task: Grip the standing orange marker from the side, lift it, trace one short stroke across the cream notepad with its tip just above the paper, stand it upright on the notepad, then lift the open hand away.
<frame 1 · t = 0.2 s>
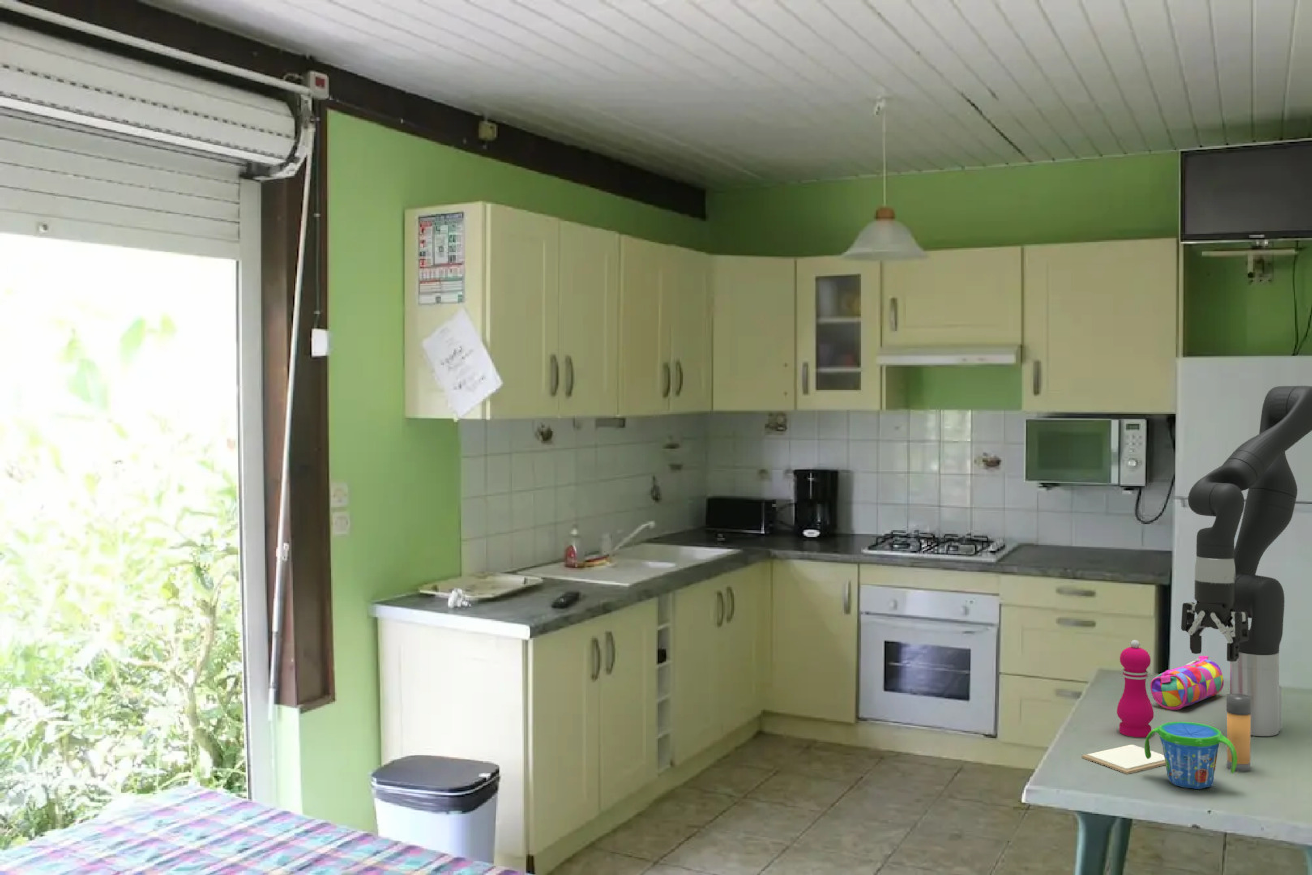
hand: (1213, 657, 232), 18 cm above the table, tool pointing down, fingers open, 8 cm apart
pencil case: (1187, 702, 262), on the table
pepper mill: (1135, 734, 238), on the table
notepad: (1129, 759, 222), on the table
snack cup: (1189, 784, 208), on the table
marker: (1238, 768, 216), on the table
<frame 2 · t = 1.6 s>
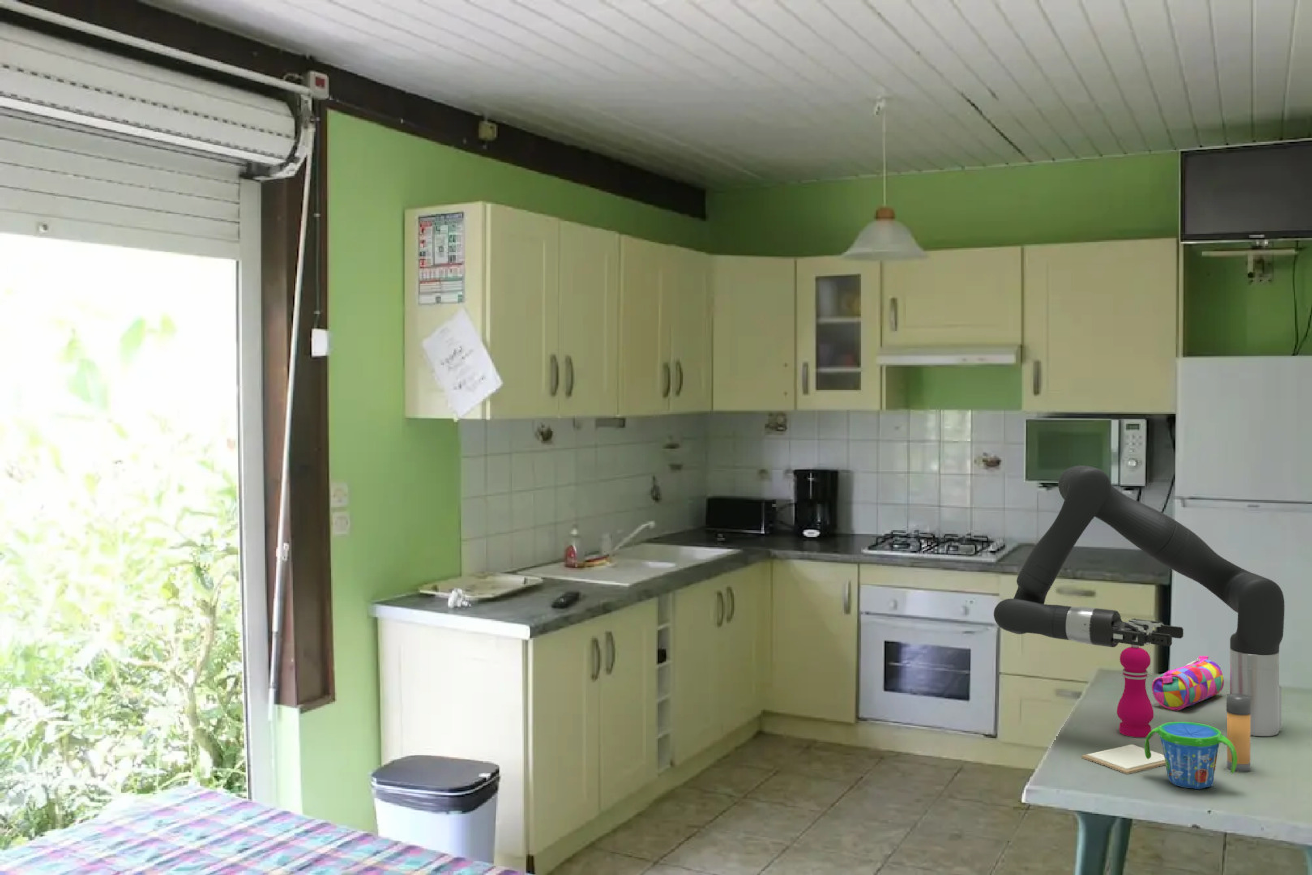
hand: (1177, 636, 221), 24 cm above the table, tool horizontal, fingers open, 8 cm apart
nothing on the table moved.
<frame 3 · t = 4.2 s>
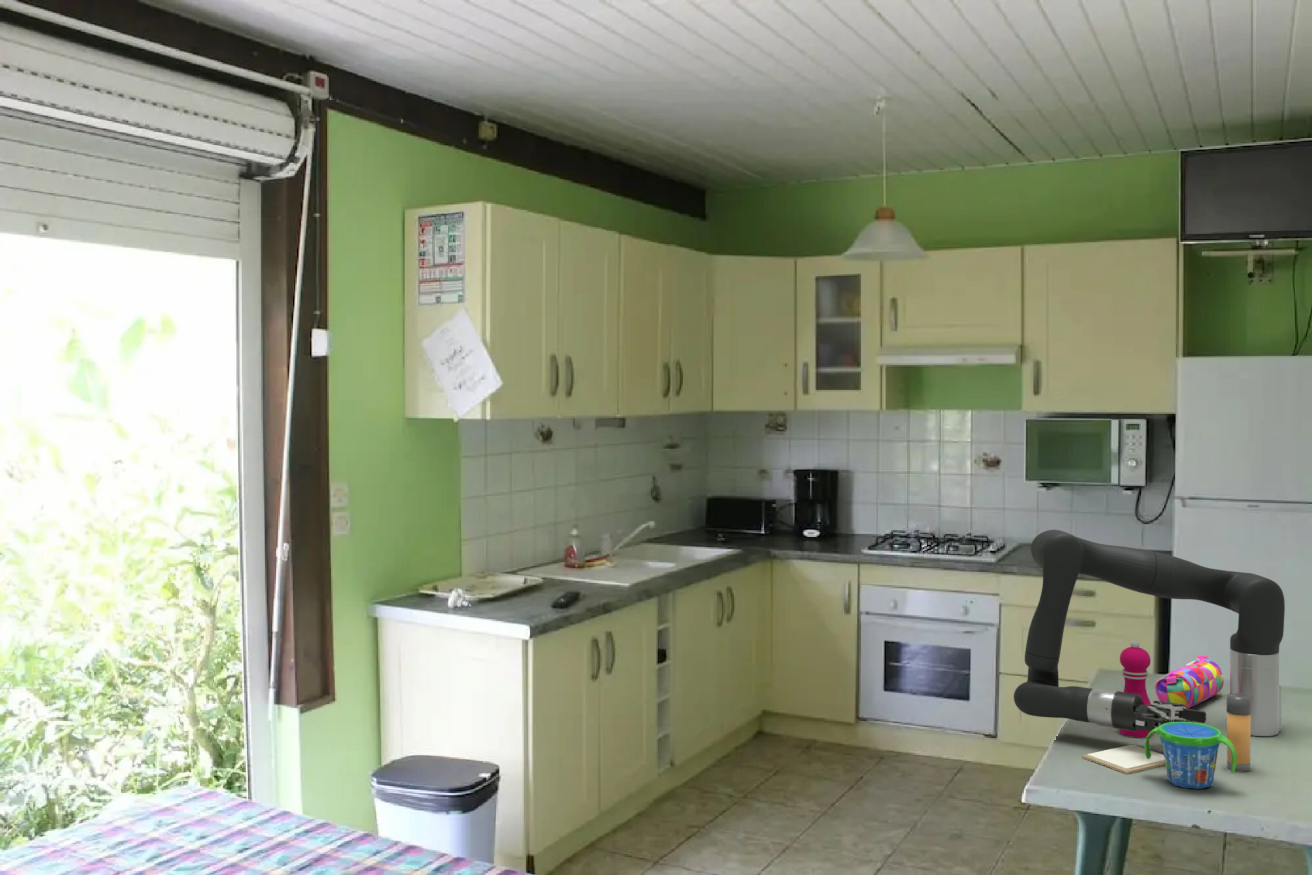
hand: (1200, 722, 220), 8 cm above the table, tool horizontal, fingers open, 8 cm apart
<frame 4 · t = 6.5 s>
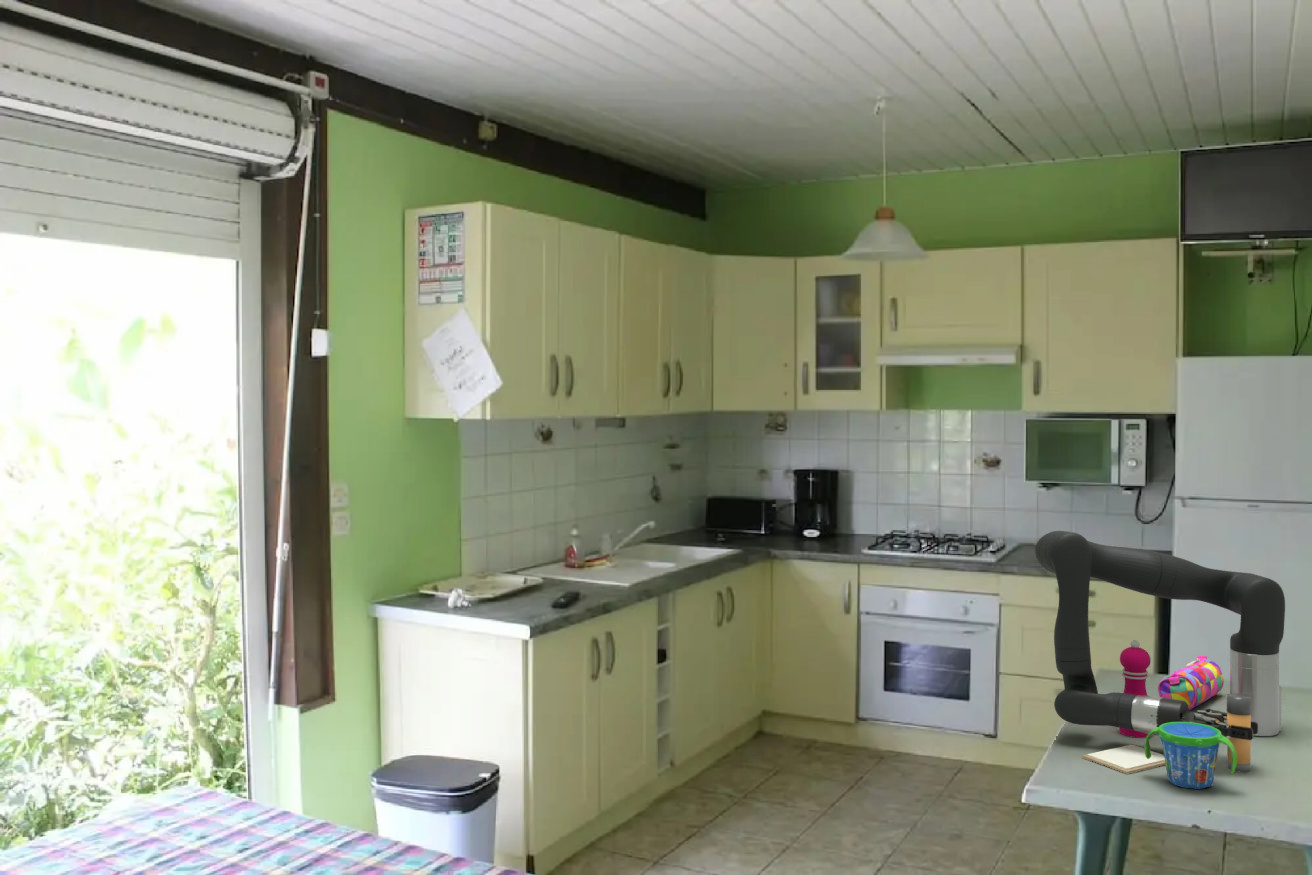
hand: (1254, 731, 214), 8 cm above the table, tool horizontal, fingers closed on marker, 4 cm apart
marker: (1238, 768, 216), on the table, touching gripper
everything else where it was.
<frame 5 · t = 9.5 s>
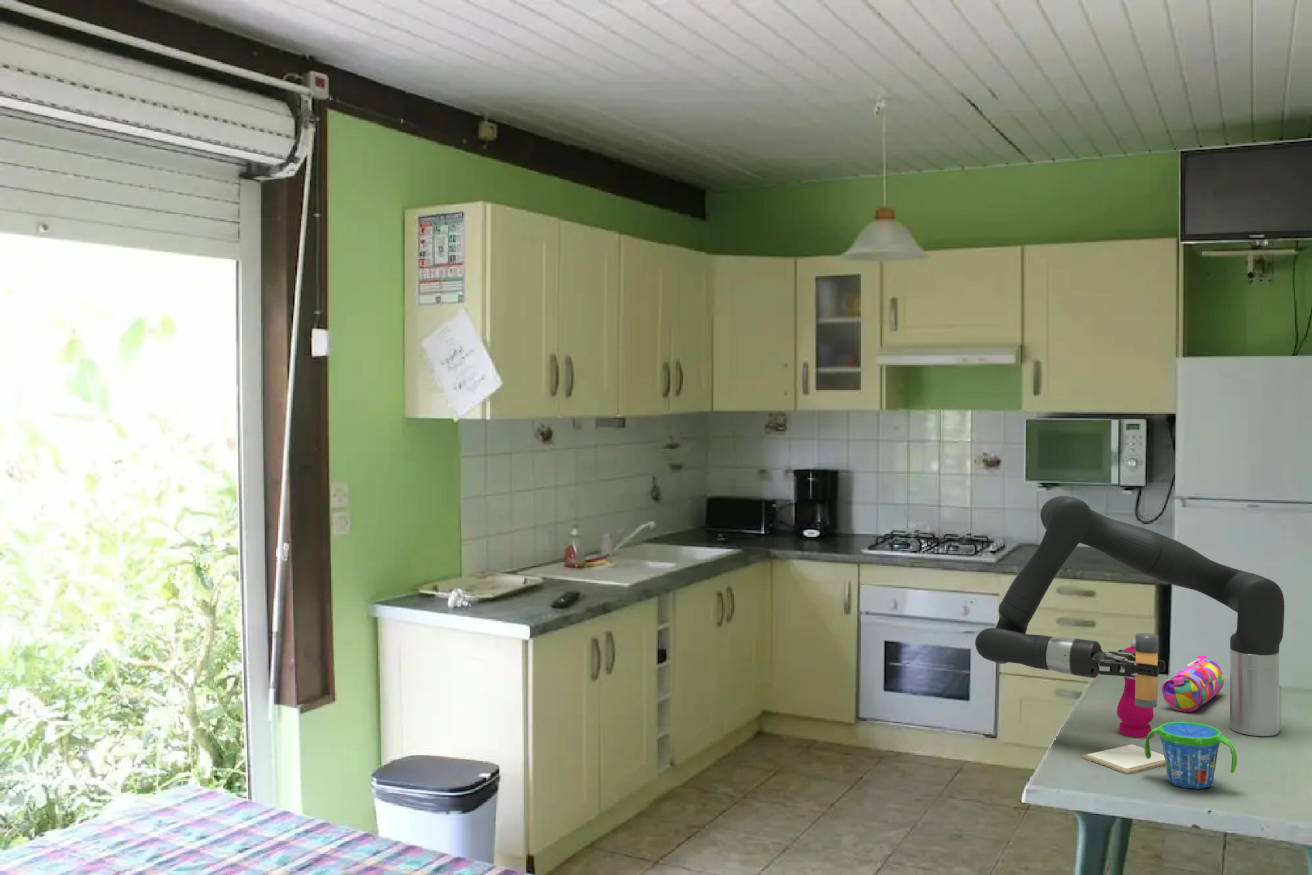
hand: (1161, 668, 221), 18 cm above the table, tool horizontal, fingers closed on marker, 4 cm apart
marker: (1146, 705, 223), point 10 cm above the table, touching gripper
when the fingers open (9 cm above the table, at t = 12.4 s): marker stays where it is, resting on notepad.
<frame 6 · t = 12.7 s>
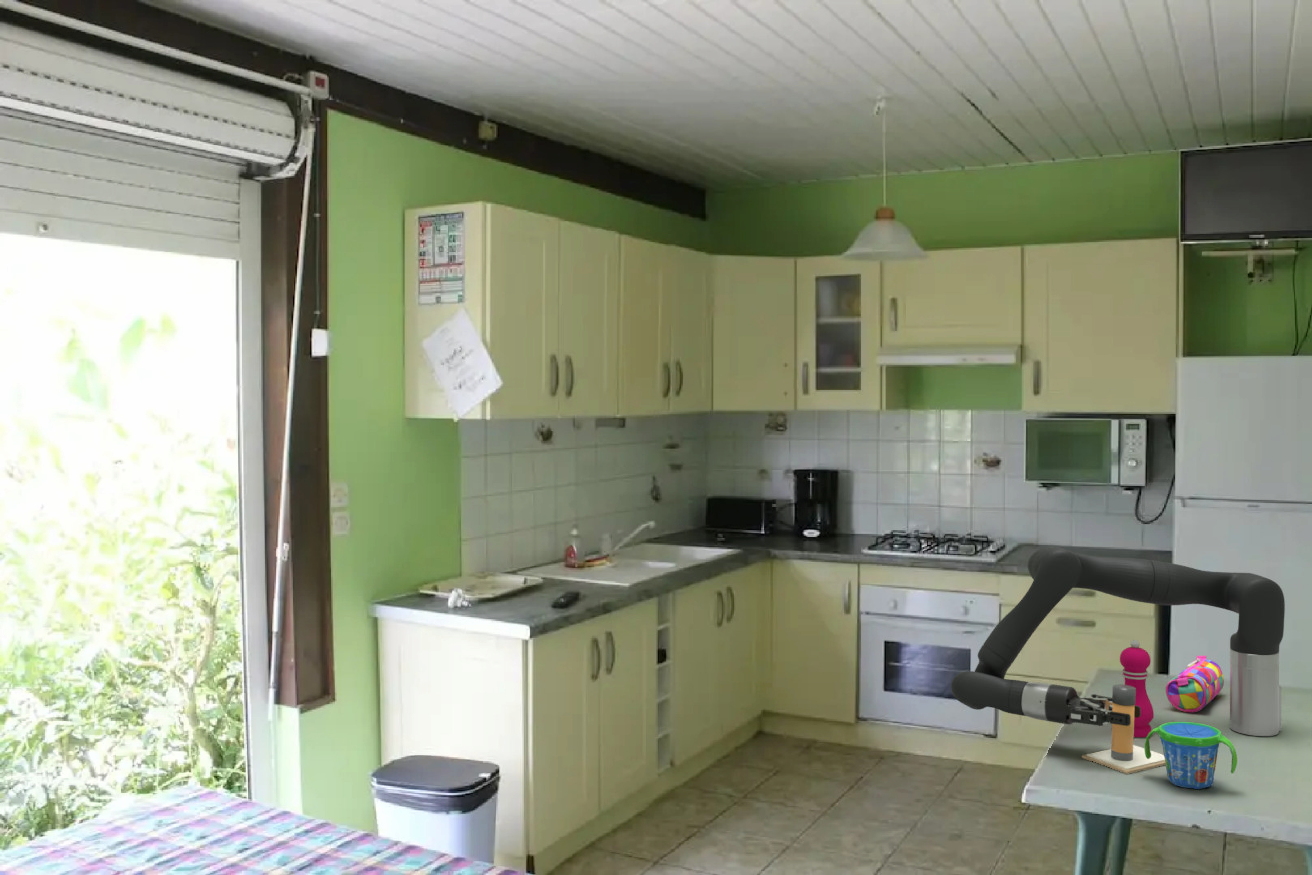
hand: (1134, 716, 219), 9 cm above the table, tool horizontal, fingers open, 6 cm apart
marker: (1121, 757, 221), point 1 cm above the table, touching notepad
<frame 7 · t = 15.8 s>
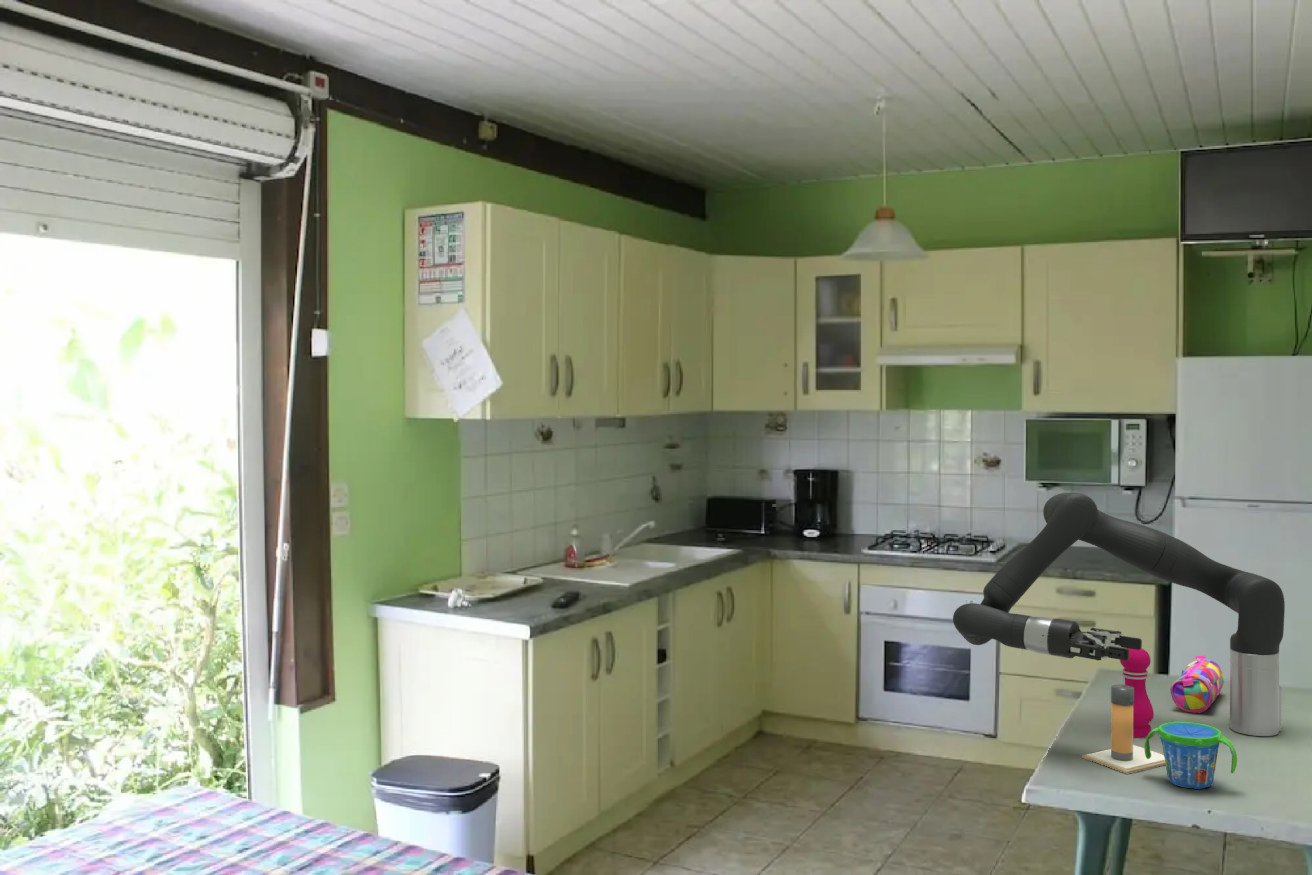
hand: (1135, 649, 218), 23 cm above the table, tool horizontal, fingers open, 8 cm apart
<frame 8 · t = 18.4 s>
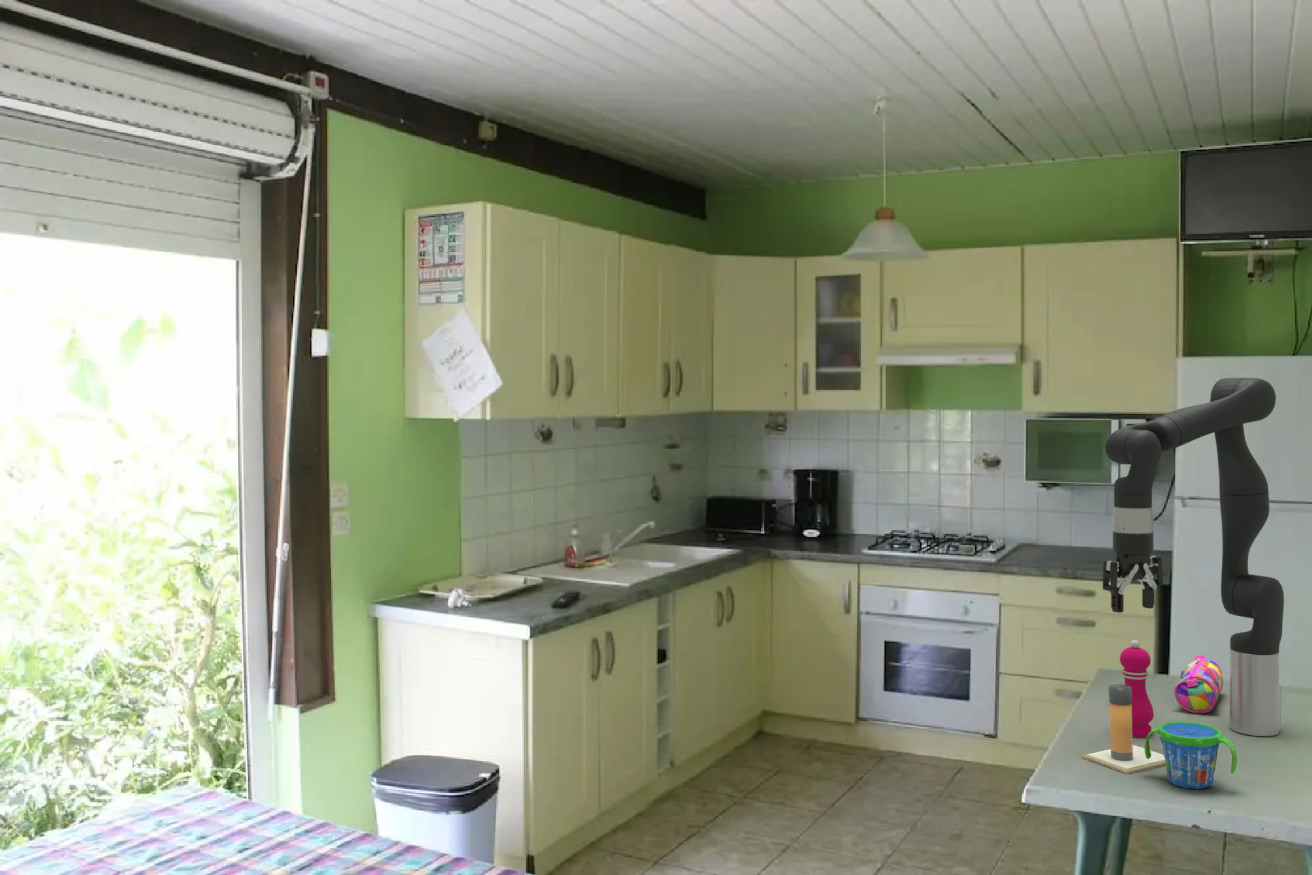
hand: (1133, 609, 224), 29 cm above the table, tool pointing down, fingers open, 8 cm apart
at the end: marker inside the target area on the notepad (2.0 cm from its centre), point 0.8 cm above the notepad's base; marker tilted 1°; the gripper is holding nothing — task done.
